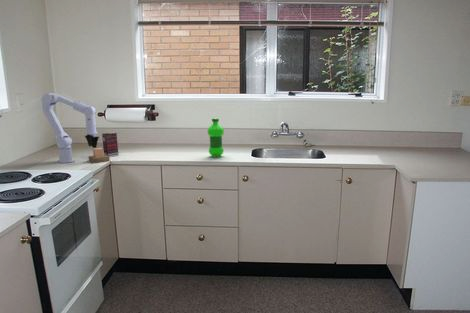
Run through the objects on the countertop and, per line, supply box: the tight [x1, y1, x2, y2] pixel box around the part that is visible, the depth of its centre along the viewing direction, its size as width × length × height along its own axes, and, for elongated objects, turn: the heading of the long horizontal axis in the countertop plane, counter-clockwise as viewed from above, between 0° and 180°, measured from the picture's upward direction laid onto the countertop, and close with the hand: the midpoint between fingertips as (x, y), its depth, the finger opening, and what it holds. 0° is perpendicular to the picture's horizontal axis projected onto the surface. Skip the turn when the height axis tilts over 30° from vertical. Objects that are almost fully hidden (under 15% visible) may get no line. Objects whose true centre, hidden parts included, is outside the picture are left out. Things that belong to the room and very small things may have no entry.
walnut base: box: [88, 155, 110, 164], centre depth 249 cm, size 10×10×3 cm
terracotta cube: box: [92, 147, 104, 157], centre depth 248 cm, size 5×5×5 cm
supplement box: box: [101, 131, 119, 157], centre depth 264 cm, size 9×5×16 cm, turn 135°
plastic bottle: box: [207, 117, 225, 158], centre depth 255 cm, size 10×10×25 cm
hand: (92, 146), depth 246 cm, fingers open, 7 cm apart
